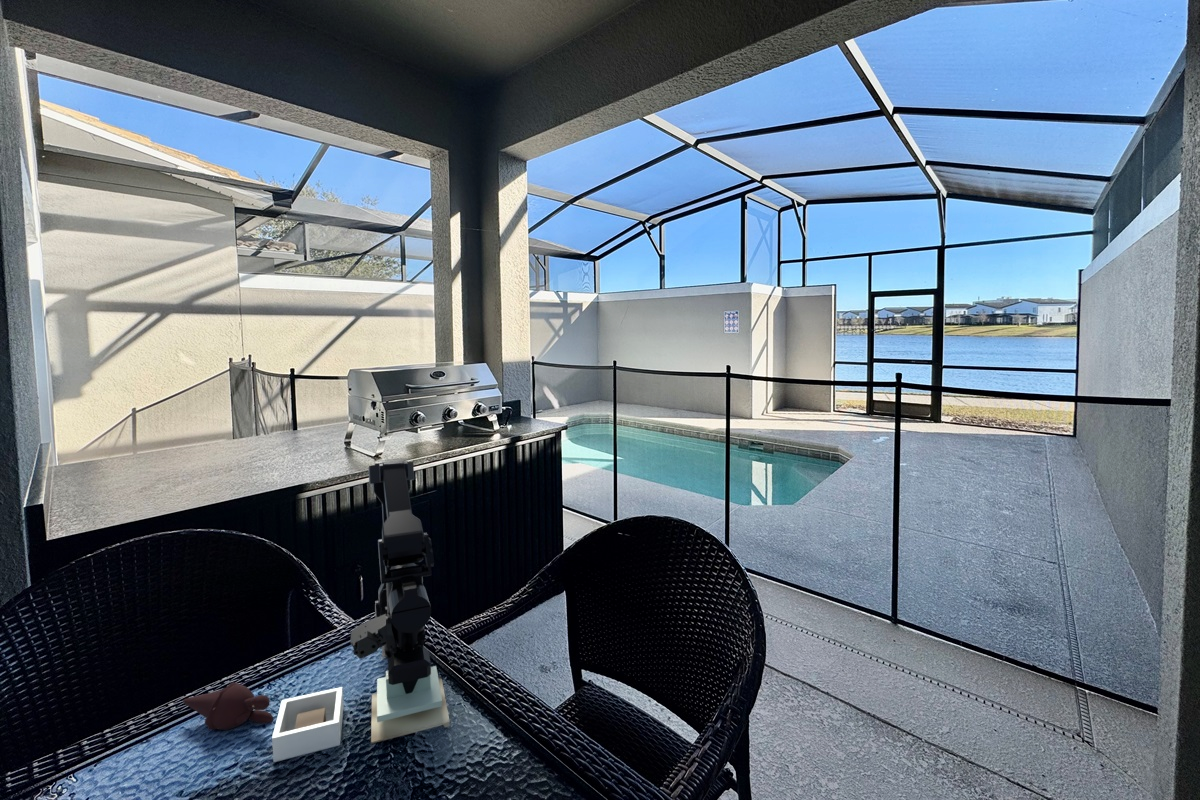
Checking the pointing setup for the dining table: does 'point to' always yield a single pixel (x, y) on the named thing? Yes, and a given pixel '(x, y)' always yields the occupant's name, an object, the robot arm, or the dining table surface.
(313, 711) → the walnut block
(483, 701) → the dining table surface
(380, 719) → the lid
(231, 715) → the brown gnome figurine
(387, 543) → the robot arm
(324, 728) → the box
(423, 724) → the board
